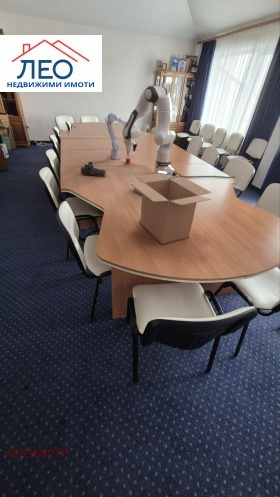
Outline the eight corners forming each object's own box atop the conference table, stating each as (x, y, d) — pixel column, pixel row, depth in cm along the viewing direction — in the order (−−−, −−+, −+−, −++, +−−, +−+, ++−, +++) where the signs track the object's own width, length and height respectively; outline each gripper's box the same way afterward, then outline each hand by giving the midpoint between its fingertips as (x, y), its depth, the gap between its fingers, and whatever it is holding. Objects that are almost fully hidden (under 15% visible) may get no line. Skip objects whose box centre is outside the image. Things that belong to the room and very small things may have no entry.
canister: (131, 163, 238) (131, 159, 236) (127, 164, 236) (127, 159, 233) (128, 162, 241) (128, 157, 238) (124, 163, 239) (125, 158, 236)
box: (210, 242, 124) (224, 196, 108) (157, 258, 109) (164, 208, 93) (167, 209, 154) (173, 169, 138) (121, 218, 140) (121, 175, 123)
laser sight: (103, 178, 196) (102, 166, 190) (79, 175, 199) (78, 163, 193) (106, 175, 204) (106, 163, 198) (83, 172, 206) (82, 160, 201)
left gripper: (129, 140, 238) (129, 153, 247) (139, 138, 247) (138, 151, 255) (125, 138, 242) (125, 151, 251) (135, 137, 251) (134, 150, 259)
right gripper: (124, 138, 229) (124, 152, 237) (125, 142, 212) (125, 157, 220) (130, 138, 229) (130, 152, 237) (131, 142, 213) (131, 157, 221)
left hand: (131, 151), depth 253 cm, fingers open, 7 cm apart
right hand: (127, 154), depth 229 cm, fingers open, 8 cm apart
